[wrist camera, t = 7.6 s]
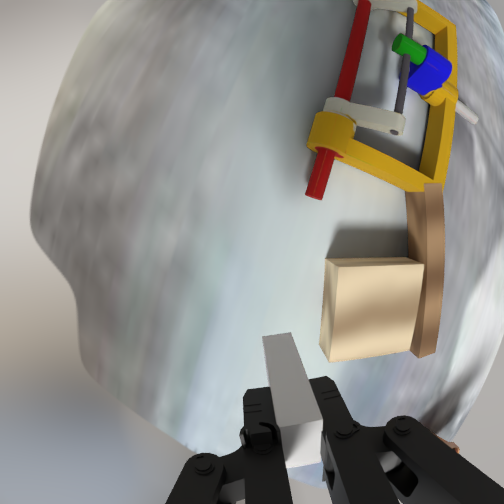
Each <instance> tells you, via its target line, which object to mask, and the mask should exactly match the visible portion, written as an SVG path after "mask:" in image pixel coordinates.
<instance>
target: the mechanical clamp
mask: <svg viewBox="0 0 504 504" xmlns="http://www.w3.org/2000/svg"><path fill="white" fill-rule="evenodd" d="M353 3H354V4H355V5H356V6H357V9H356V13H355V17H354V22H353V26H352V30H351V34H350V38H349V42H348V46H347V50H346V53H345V57H344V61H343V65H342V69H341V73H340V76H339V80H338V84H337V87H336V91H335V95H334V97H329V98H327V99H326V102H325V105H324V109H323V111H321V112H318V113H316V115H315V118H314V121H313V125H312V128H311V131H310V135H309V138H308V141H307V144H306V146H307V147H308V148H309V149H310V150H312V151H314V152H316V153H318V154H317V157H316V160H315V164H314V167H313V170H312V173H311V177H310V180H309V183H308V186H307V190H306V193H305V195H307V196H309V197H312V198H315V199H318V200H322V198H323V195H324V191H325V188H326V185H327V182H328V178H329V175H330V172H331V168H332V165H333V161H334V159H336V160H338V161H341V162H343V163H346V164H348V165H350V166H353V167H355V168H357V169H360V170H362V171H364V172H367V173H369V174H371V175H373V176H376V177H378V178H380V179H382V180H384V181H386V182H388V183H390V184H393V185H395V186H397V187H399V188H401V189H403V190H405V191H407V192H424V184H428V183H442V190H443V189H444V184H445V179H446V174H447V169H448V163H449V158H450V151H451V145H452V137H453V129H454V120H455V111H456V112H457V113H458V114H460V115H461V116H462V117H463V118H465V119H466V120H467V121H469V122H470V123H471V124H473V125H474V124H476V123H477V121H478V115H477V114H476V113H474V112H473V111H472V110H471V109H470V108H468V107H467V106H466V105H465V104H463V103H462V102H461V101H459V100H458V89H457V36H456V26H455V25H454V24H453V23H451V22H450V21H449V20H447V19H446V18H445V17H443V16H442V15H440V14H439V13H437V12H436V11H434V10H433V9H431V8H430V7H428V6H427V5H425V4H424V3H422V2H420V1H419V0H353ZM376 8H377V9H385V10H393V11H397V12H399V13H401V14H402V15H404V16H406V17H407V21H406V33H405V35H403V34H401V33H400V34H398V35H397V37H396V38H395V40H394V42H393V45H392V51H394V52H395V53H397V54H399V55H401V56H403V60H402V67H401V73H400V77H399V87H398V93H397V98H396V104H395V109H394V112H392V111H388V110H384V109H380V108H375V107H370V106H366V105H361V104H355V103H350V99H351V95H352V91H353V87H354V83H355V79H356V75H357V71H358V66H359V62H360V58H361V53H362V49H363V44H364V39H365V35H366V30H367V25H368V20H369V15H370V11H372V10H374V9H376ZM413 22H416V23H418V24H419V25H421V26H422V27H424V28H426V29H427V30H429V31H430V32H432V33H433V34H435V50H433V49H432V48H430V47H429V46H427V45H423V46H421V45H420V44H418V43H417V42H415V41H413V40H412V37H413ZM407 87H409V88H410V89H412V90H414V91H415V92H417V93H419V94H420V97H421V99H423V100H424V101H426V102H427V103H429V104H430V112H429V119H428V126H427V132H426V138H425V144H424V149H423V154H422V159H421V164H420V168H419V172H418V171H416V170H415V169H413V168H411V167H409V166H407V165H405V164H404V163H402V162H400V161H398V160H396V159H394V158H392V157H390V156H388V155H386V154H384V153H382V152H380V151H378V150H376V149H374V148H371V147H369V146H367V145H365V144H363V143H361V142H358V141H356V140H354V139H353V138H354V135H355V131H356V126H360V127H365V128H369V129H373V130H377V131H381V132H385V133H389V134H393V135H397V136H401V135H403V131H404V125H405V120H406V118H405V117H404V116H403V115H402V113H403V107H404V101H405V95H406V89H407Z"/></svg>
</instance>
